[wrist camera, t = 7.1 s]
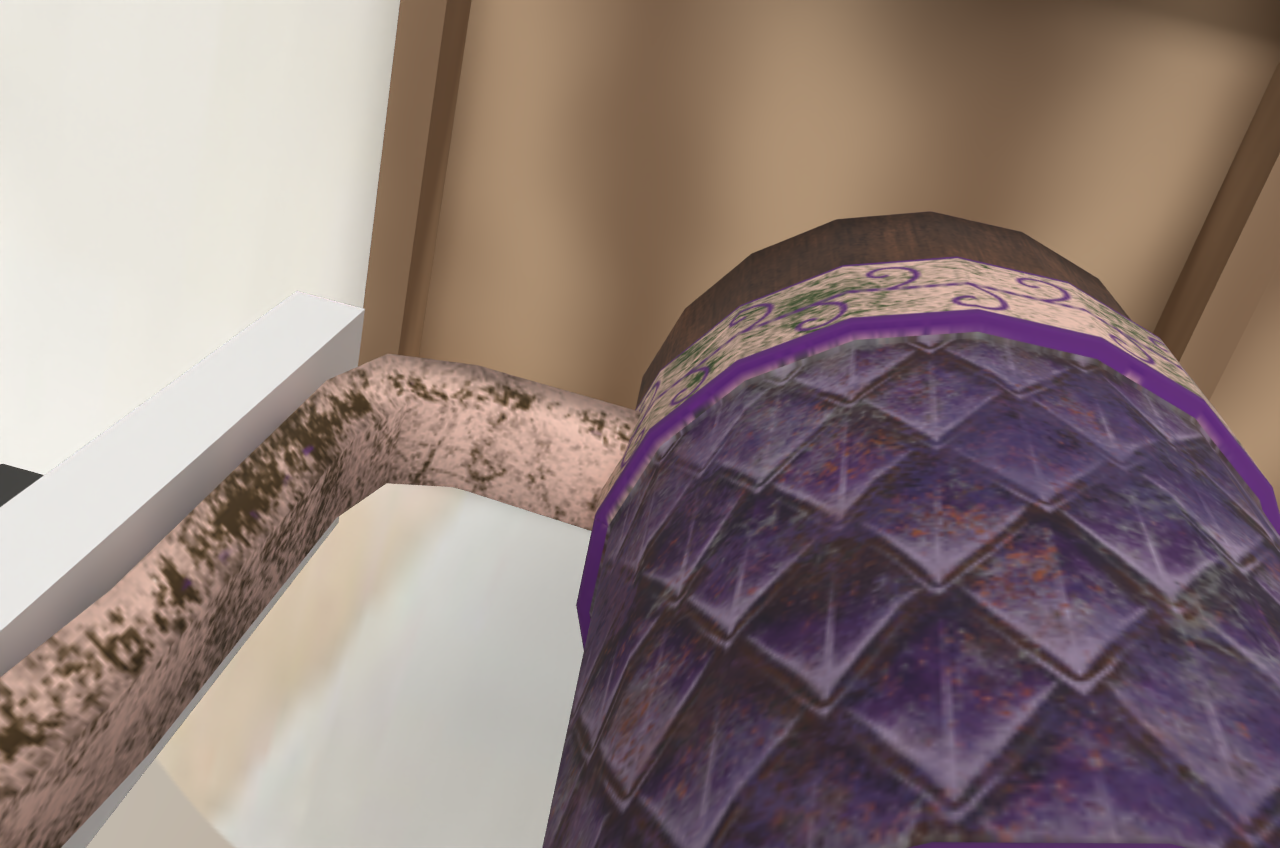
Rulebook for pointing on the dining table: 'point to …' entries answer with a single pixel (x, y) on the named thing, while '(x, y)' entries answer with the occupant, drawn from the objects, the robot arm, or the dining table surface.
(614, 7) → the wooden divided tray
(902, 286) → the mug
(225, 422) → the robot arm
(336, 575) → the dining table surface
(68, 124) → the dining table surface
